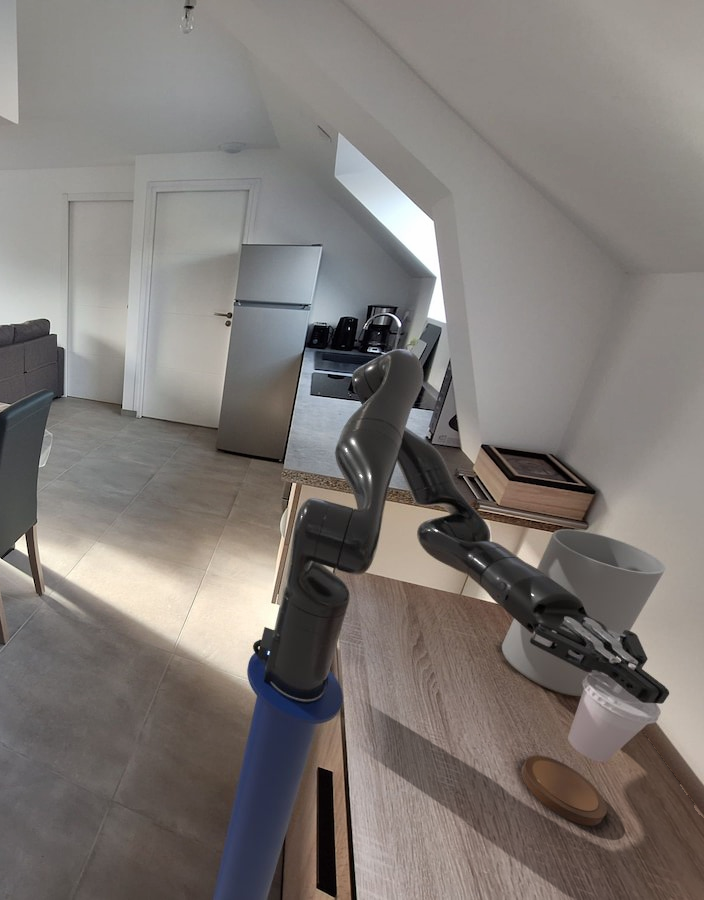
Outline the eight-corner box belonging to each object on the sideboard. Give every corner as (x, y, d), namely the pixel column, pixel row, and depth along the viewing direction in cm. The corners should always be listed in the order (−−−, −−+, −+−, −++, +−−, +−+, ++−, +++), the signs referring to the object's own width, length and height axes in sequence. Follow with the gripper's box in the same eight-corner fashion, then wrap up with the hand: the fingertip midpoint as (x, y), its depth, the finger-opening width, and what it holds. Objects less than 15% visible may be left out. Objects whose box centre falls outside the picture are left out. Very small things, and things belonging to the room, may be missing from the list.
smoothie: (546, 716, 62) (591, 638, 57) (609, 738, 60) (662, 658, 54) (564, 757, 57) (615, 675, 52) (634, 783, 54) (695, 700, 49)
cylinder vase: (492, 633, 89) (541, 522, 80) (576, 658, 84) (639, 542, 75) (511, 679, 78) (569, 557, 69) (608, 711, 73) (685, 583, 64)
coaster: (531, 805, 59) (536, 797, 59) (513, 752, 66) (517, 745, 65) (614, 838, 56) (620, 830, 55) (586, 779, 63) (591, 772, 62)
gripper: (563, 617, 68) (700, 724, 52) (474, 613, 68) (582, 718, 52) (585, 576, 65) (736, 676, 49) (491, 572, 66) (612, 670, 50)
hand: (657, 697), depth 51 cm, fingers closed on smoothie, 1 cm apart
